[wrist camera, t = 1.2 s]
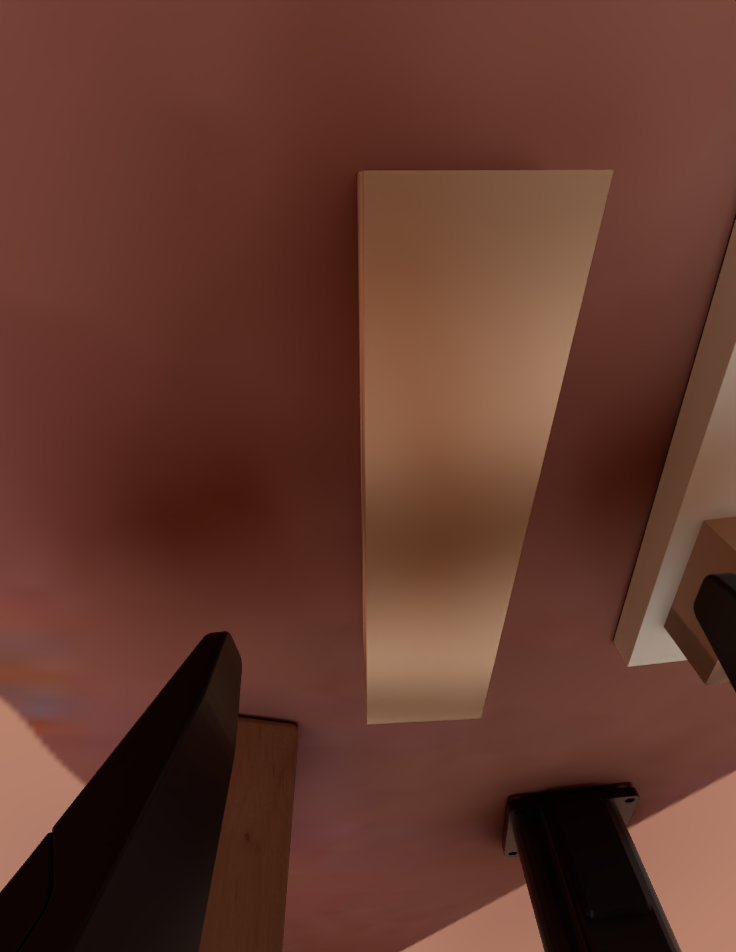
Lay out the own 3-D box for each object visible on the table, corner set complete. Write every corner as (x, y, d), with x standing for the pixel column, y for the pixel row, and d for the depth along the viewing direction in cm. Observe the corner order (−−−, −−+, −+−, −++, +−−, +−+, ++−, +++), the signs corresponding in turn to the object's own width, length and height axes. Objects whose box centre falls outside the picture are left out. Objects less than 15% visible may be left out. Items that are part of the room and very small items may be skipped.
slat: (459, 636, 17) (480, 718, 14) (362, 640, 16) (367, 724, 14) (536, 172, 9) (613, 169, 6) (356, 172, 9) (363, 170, 6)
